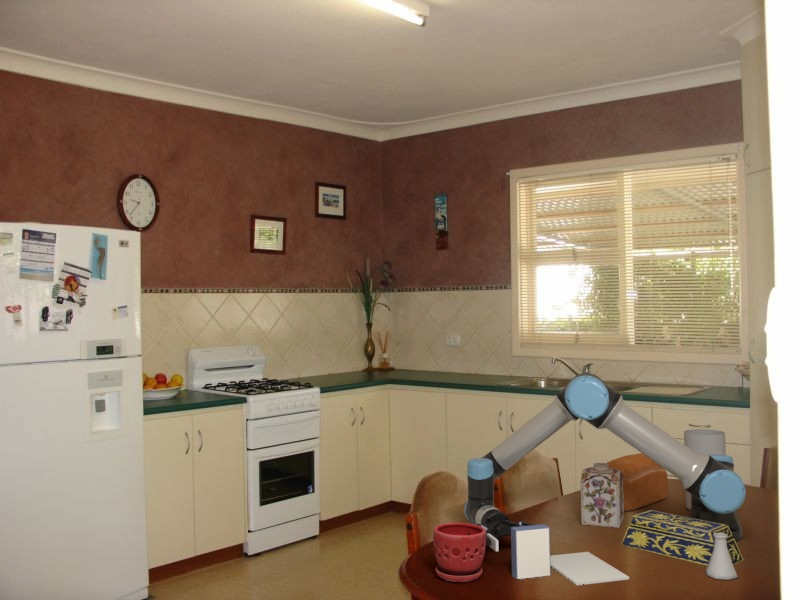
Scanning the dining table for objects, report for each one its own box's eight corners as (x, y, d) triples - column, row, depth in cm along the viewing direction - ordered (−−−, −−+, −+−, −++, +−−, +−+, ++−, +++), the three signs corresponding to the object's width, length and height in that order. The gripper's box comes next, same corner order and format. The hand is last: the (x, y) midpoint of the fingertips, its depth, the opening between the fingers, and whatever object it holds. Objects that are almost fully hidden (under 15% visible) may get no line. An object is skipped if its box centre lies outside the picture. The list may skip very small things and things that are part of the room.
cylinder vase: (708, 503, 261) (705, 428, 261) (736, 511, 249) (733, 433, 249) (677, 507, 256) (675, 431, 257) (705, 516, 244) (702, 436, 245)
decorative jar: (580, 525, 237) (579, 466, 237) (586, 516, 248) (584, 459, 248) (621, 528, 233) (619, 468, 233) (625, 518, 243) (623, 461, 244)
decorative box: (724, 571, 194) (723, 535, 194) (620, 545, 217) (619, 513, 217) (744, 561, 201) (743, 526, 201) (641, 538, 224) (641, 506, 224)
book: (512, 575, 193) (510, 527, 193) (545, 572, 195) (544, 524, 195) (516, 579, 190) (515, 530, 190) (550, 576, 192) (549, 527, 192)
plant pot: (472, 589, 184) (471, 538, 185) (424, 580, 191) (423, 531, 192) (495, 572, 196) (494, 524, 196) (449, 564, 202) (448, 518, 203)
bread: (594, 506, 260) (592, 458, 261) (635, 492, 278) (634, 448, 278) (631, 513, 250) (629, 464, 251) (671, 498, 268) (670, 452, 268)
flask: (700, 571, 193) (699, 531, 193) (728, 570, 194) (727, 529, 194) (714, 581, 186) (713, 539, 186) (743, 580, 187) (742, 538, 187)
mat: (539, 559, 206) (539, 556, 206) (587, 553, 209) (587, 551, 209) (576, 585, 185) (576, 582, 185) (629, 579, 189) (629, 576, 189)
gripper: (534, 531, 220) (568, 553, 199) (450, 539, 214) (476, 563, 193) (534, 505, 220) (567, 524, 200) (449, 512, 214) (475, 532, 194)
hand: (522, 543), depth 196 cm, fingers open, 13 cm apart
